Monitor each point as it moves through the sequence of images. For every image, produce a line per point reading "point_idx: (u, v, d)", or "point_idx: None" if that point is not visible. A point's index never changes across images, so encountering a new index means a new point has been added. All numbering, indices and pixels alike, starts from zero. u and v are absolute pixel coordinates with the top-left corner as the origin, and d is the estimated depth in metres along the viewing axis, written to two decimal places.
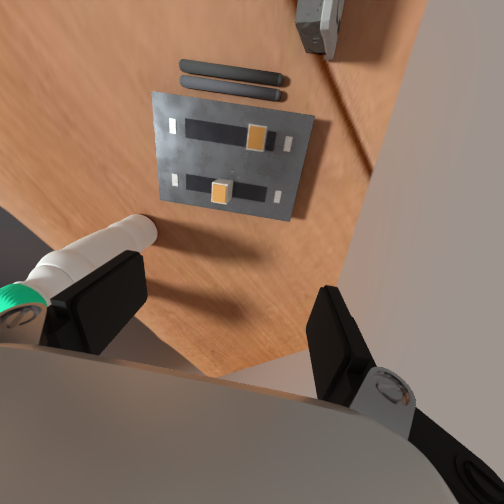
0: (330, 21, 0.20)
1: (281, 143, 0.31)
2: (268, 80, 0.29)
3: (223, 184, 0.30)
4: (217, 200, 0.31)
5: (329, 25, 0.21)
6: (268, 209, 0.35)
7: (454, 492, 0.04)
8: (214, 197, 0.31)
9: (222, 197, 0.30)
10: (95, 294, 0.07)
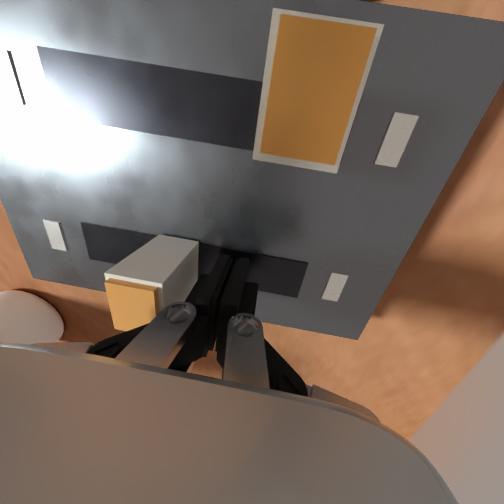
0: None
1: (370, 138, 0.09)
2: None
3: (146, 282, 0.08)
4: (131, 328, 0.09)
5: None
6: (305, 313, 0.14)
7: None
8: (119, 319, 0.09)
9: (146, 321, 0.09)
10: (220, 294, 0.08)
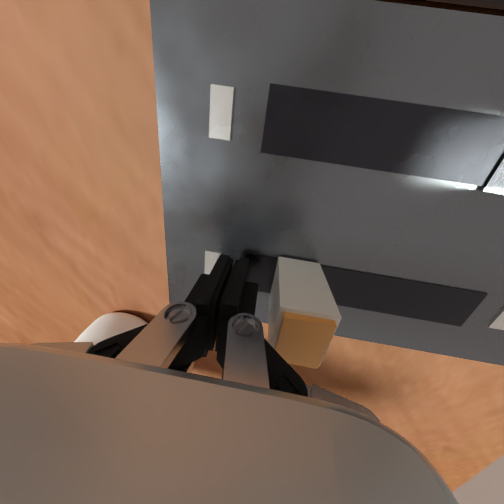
0: None
1: None
2: None
3: (323, 315, 0.08)
4: (292, 360, 0.09)
5: None
6: (462, 340, 0.13)
7: None
8: (283, 352, 0.08)
9: (313, 354, 0.08)
10: (220, 294, 0.08)
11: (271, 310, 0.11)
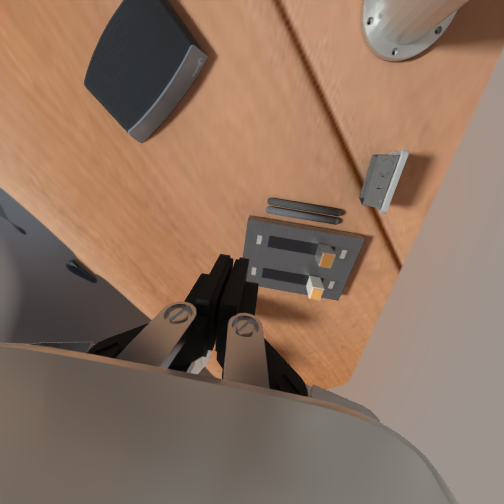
0: (386, 209, 0.33)
1: (338, 253, 0.42)
2: (331, 214, 0.41)
3: (320, 288, 0.42)
4: (314, 298, 0.42)
5: (386, 211, 0.33)
6: (323, 292, 0.47)
7: None
8: (312, 296, 0.42)
9: (318, 296, 0.42)
10: (220, 294, 0.08)
11: (308, 289, 0.44)
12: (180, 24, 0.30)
